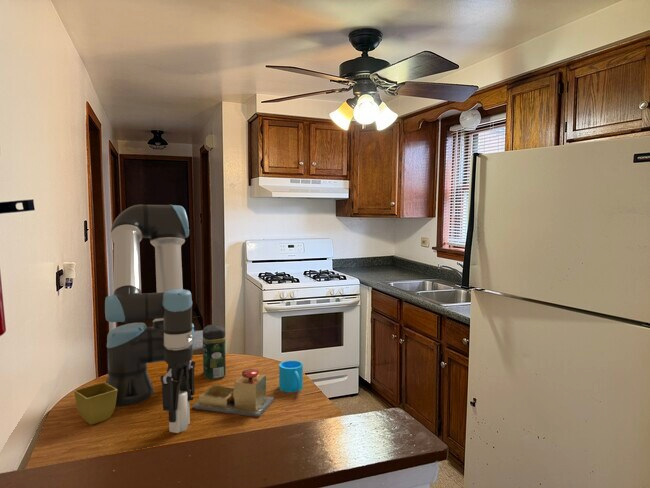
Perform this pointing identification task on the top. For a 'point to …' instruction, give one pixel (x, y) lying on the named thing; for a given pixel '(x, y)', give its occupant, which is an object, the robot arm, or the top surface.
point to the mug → (290, 376)
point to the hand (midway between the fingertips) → (179, 427)
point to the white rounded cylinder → (183, 410)
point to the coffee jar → (214, 352)
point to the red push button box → (238, 396)
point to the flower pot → (96, 402)
